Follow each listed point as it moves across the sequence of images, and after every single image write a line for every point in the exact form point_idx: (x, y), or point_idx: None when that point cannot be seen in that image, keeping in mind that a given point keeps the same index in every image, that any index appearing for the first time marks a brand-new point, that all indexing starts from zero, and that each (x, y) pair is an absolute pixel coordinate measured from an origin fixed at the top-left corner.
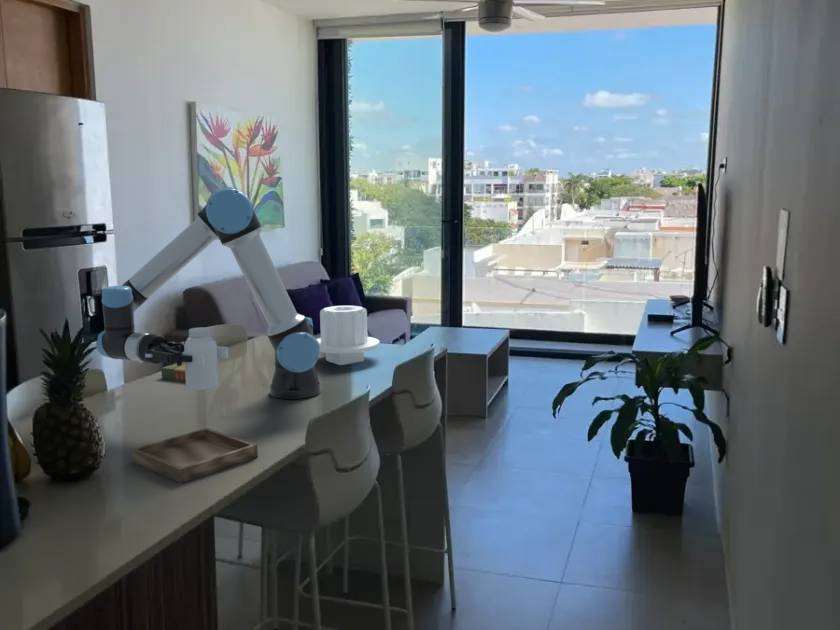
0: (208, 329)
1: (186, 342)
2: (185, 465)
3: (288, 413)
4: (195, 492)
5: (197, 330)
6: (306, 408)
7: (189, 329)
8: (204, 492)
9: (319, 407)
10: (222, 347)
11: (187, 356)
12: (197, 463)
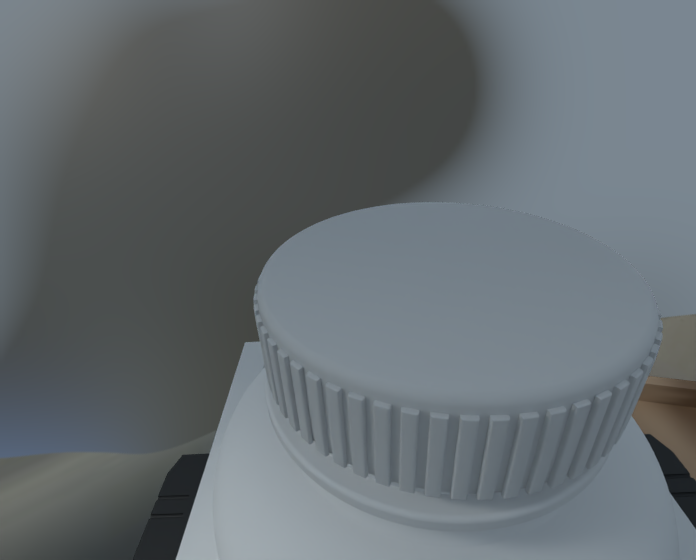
0: (369, 212)
1: (659, 511)
2: (683, 454)
3: (73, 545)
4: (692, 361)
5: (522, 242)
6: (6, 521)
7: (618, 359)
8: (672, 350)
9: (2, 486)
10: (263, 367)
11: (667, 451)
12: (670, 382)
